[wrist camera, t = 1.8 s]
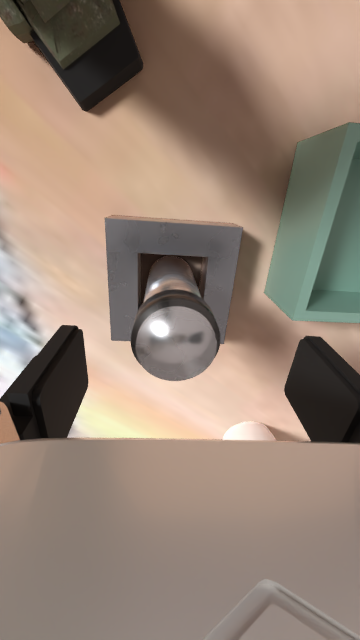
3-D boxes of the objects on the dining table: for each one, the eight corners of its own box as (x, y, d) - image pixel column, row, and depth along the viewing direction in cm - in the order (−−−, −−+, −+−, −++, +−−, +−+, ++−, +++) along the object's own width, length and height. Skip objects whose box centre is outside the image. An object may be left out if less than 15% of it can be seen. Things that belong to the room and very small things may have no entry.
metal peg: (193, 302, 25) (216, 386, 14) (145, 300, 24) (129, 384, 13) (198, 253, 23) (229, 307, 12) (145, 250, 22) (128, 303, 11)
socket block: (217, 328, 26) (223, 343, 23) (116, 324, 25) (111, 340, 22) (233, 223, 22) (242, 227, 19) (112, 215, 21) (104, 218, 18)
